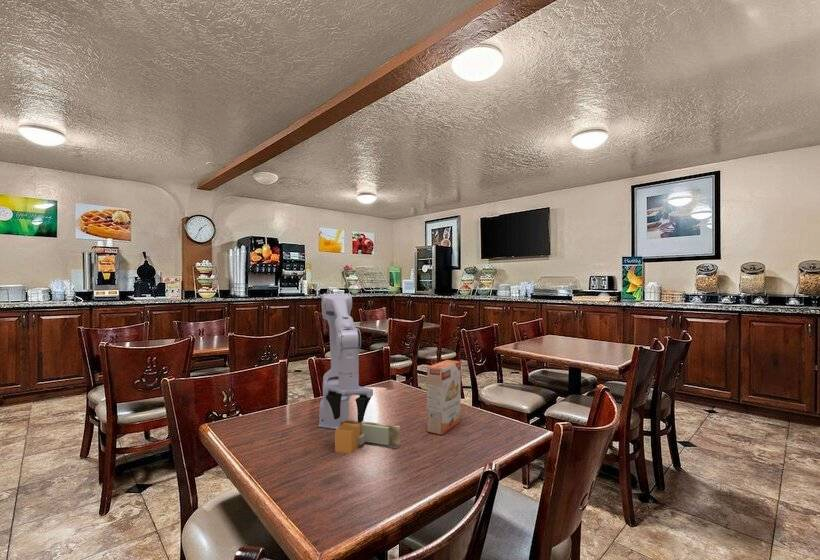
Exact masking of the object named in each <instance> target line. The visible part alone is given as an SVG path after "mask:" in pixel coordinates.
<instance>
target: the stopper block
mask: <svg viewBox="0 0 820 560" xmlns="http://www.w3.org/2000/svg"><path fill="white" fill-rule="evenodd" d="M334 433H335V434H334V452H335V453H344V454H349V455H350V454H353V453H354V452H355V450H357V449H358V448H359V447H360V446H361V445H357V438H358V437H359V436H360V425H359V424H350V423H344V424H342V425H341V426H340V427H339V428H337V429H334Z"/></svg>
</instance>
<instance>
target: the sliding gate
mask: <svg viewBox="0 0 820 560" xmlns="http://www.w3.org/2000/svg"><path fill="white" fill-rule="evenodd" d="M364 442H370V443H376V444H383V445H389V427H385V426H378V425H371V424H362V425H361V435H360V436H359V437H358V438H357V445H360V446H362V445H364V444H363V443H364Z"/></svg>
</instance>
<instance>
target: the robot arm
mask: <svg viewBox="0 0 820 560" xmlns="http://www.w3.org/2000/svg"><path fill="white" fill-rule="evenodd" d="M352 308H353V298H352V295H351V293H349V292H347V293H325V292H324V293H323V294H322V295H321V316H322V319H323V320H326V321H327V323H328V328H329V348H330V351H329V352H330V369H329V370H327V372H325V373H324V374H323V376H322V399H321V400H320V403H319V407H318V408H319V411H318V413H319V415H318V416H319V417H318V419H319V420H318V422H319V424H317V426H318V427H319V428H325V429H326V428H327V429H333V430H336V429H337V428H339V427H340V421H342V420H343V419H350V399H351V397H352V396H358V397H356V398H355V404H356V409H357V416H356V417H357V419H356V420H357V421H358V423H361V422H362V421H364V420H365V419H364V418H365V415H366V410H367V407H368V405H369V403H370V401H371V399H372V397H373V396H374V388H368V387H364V386H360V385H359V383H360V382H359V381H360V380H359V379H360V375H359V374H360V373H359V372H360V370H359V366H360V365H359V364H360V363H359V362H360V359H359V355H360V354H359V350H361V347H362V336H361V331H360V329H359V328H357V327H356V326H355V323H354V319H353V317H352V316H350V315H351V311H352Z"/></svg>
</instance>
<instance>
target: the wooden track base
mask: <svg viewBox="0 0 820 560" xmlns="http://www.w3.org/2000/svg"><path fill="white" fill-rule="evenodd" d="M344 423H350V424H359V425H360V435H361V425H362V424H371V425H378V426H385V427H389V445H383V444H376V443H370V442H364V443H363V444H362V445H369V446H375V447H380V448H381V447H382V448H388V449H395V450H397V449H398V448H399V447H400V446H401V426H400V425H393V424H385V423H379V422H371V421H364V420H363V421H362V422H361V423H358V419H350V418H349V419H343V420H342V421H340V426H341V425H342V424H344Z"/></svg>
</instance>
